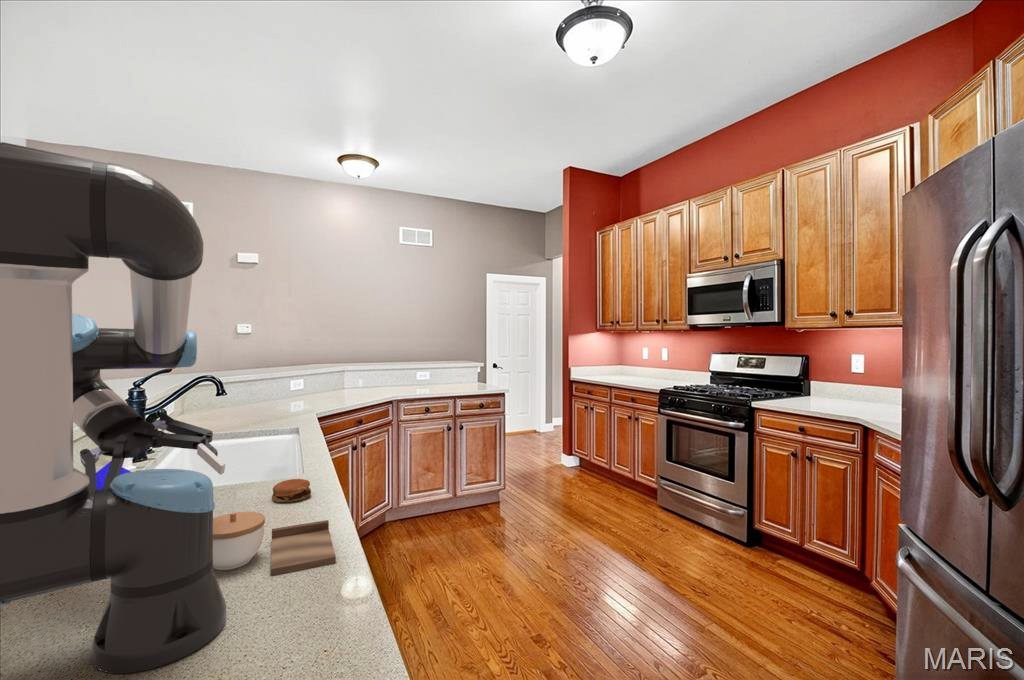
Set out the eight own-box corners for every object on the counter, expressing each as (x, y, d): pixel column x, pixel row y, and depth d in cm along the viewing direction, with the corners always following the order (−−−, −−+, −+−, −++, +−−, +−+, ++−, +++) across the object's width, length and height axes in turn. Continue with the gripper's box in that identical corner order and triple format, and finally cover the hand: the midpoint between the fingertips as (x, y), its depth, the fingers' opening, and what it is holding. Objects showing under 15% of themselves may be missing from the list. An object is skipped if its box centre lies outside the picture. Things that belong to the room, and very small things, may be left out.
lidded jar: (245, 544, 94) (246, 499, 94) (276, 558, 89) (276, 510, 89) (187, 566, 85) (187, 516, 85) (217, 583, 80) (217, 529, 80)
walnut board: (335, 562, 87) (335, 548, 87) (270, 575, 82) (270, 560, 82) (327, 532, 101) (328, 519, 101) (271, 542, 96) (271, 528, 96)
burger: (266, 498, 122) (266, 480, 122) (301, 490, 129) (301, 473, 129) (280, 507, 116) (281, 489, 116) (317, 498, 122) (317, 481, 122)
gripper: (178, 402, 96) (248, 464, 92) (20, 471, 75) (102, 555, 71) (179, 376, 92) (252, 440, 88) (12, 442, 71) (99, 529, 67)
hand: (185, 492), depth 80 cm, fingers open, 13 cm apart
